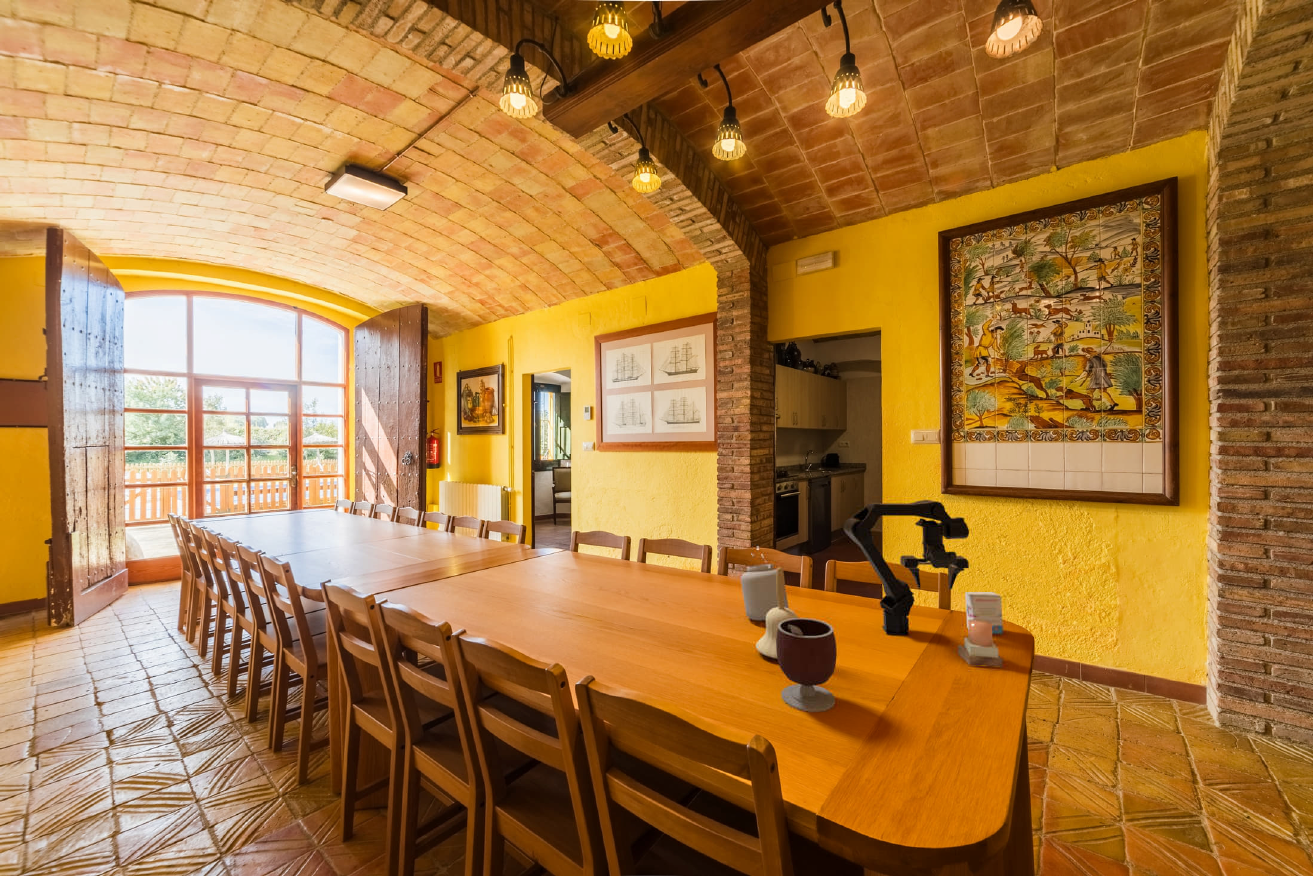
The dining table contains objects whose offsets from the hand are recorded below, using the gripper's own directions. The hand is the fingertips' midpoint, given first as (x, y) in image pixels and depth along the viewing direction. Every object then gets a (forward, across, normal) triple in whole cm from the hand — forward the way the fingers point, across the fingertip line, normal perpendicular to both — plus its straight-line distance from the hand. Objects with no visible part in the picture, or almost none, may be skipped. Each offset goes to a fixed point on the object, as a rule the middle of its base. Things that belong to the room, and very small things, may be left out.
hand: (934, 588), depth 165 cm
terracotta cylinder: (+8, +4, -23) cm, 25 cm away
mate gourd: (+13, -45, -51) cm, 69 cm away
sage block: (+11, +4, -23) cm, 26 cm away
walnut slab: (+14, +4, -23) cm, 27 cm away
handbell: (+13, -49, -24) cm, 56 cm away
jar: (+13, -54, +6) cm, 56 cm away
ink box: (+13, +14, 0) cm, 19 cm away
